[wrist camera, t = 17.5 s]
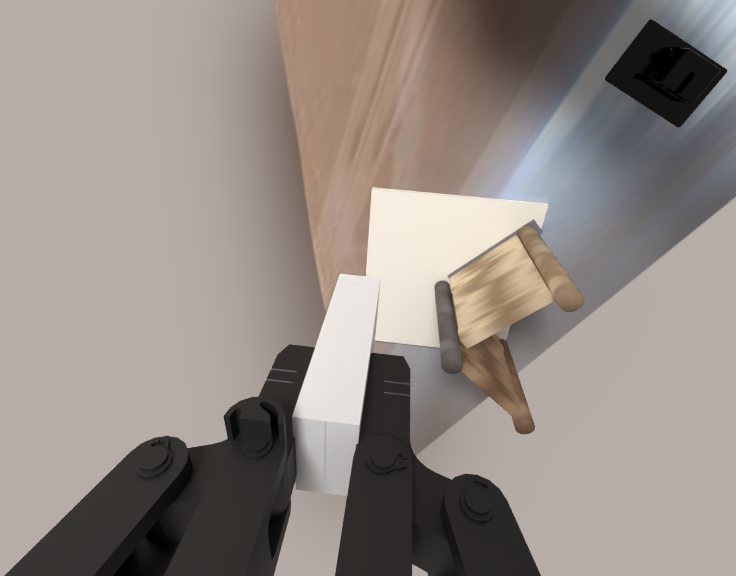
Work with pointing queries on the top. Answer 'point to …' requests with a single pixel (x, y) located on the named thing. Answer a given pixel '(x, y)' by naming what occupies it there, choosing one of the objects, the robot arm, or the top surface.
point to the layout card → (432, 252)
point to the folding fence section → (497, 377)
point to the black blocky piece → (665, 73)
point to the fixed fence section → (500, 293)
